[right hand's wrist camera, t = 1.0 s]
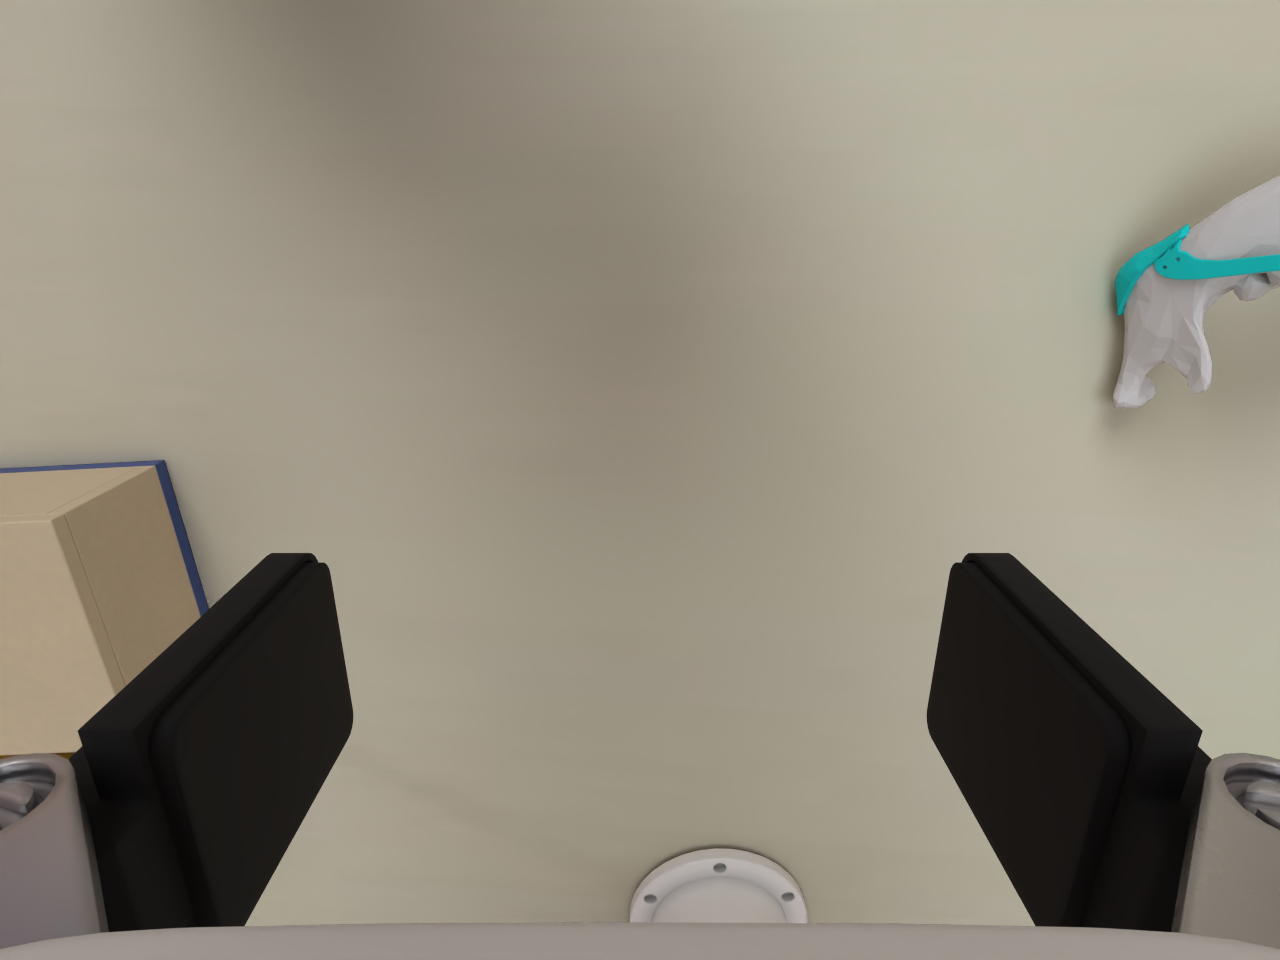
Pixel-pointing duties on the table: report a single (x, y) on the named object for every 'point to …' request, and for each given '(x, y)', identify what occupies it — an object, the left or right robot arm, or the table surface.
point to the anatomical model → (1193, 289)
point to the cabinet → (85, 593)
